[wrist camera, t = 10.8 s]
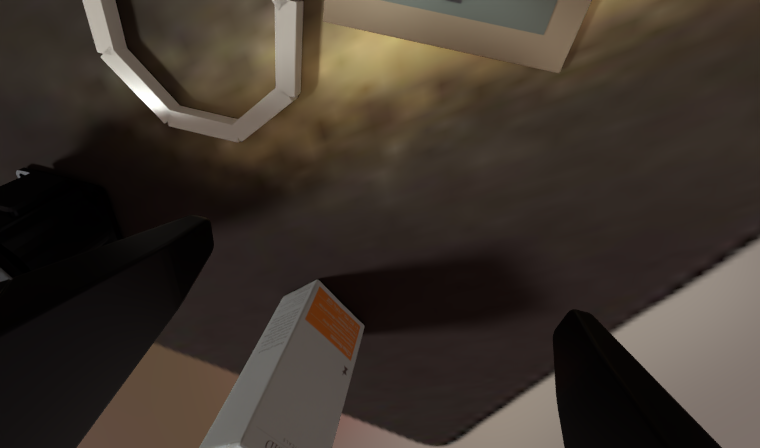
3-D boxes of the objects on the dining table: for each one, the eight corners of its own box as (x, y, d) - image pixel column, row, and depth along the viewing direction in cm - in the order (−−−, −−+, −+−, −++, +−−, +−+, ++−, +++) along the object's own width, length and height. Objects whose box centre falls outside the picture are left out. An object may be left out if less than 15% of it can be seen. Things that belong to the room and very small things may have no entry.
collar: (298, 149, 21) (293, 155, 20) (126, 108, 21) (115, 113, 20) (306, -94, 14) (298, -98, 13) (59, -145, 15) (38, -151, 14)
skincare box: (367, 324, 29) (322, 499, 19) (330, 338, 31) (272, 503, 21) (318, 275, 26) (238, 446, 17) (281, 294, 28) (191, 456, 19)
